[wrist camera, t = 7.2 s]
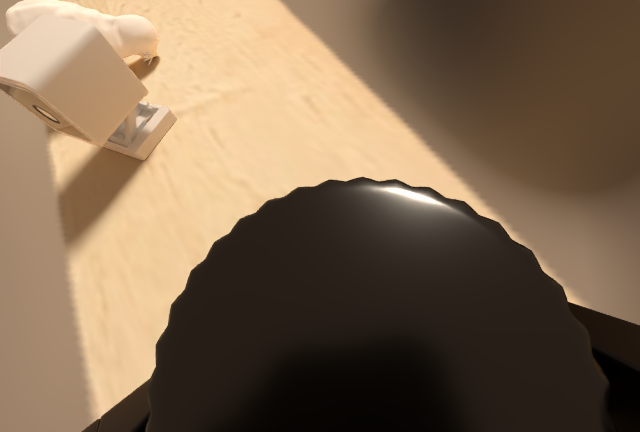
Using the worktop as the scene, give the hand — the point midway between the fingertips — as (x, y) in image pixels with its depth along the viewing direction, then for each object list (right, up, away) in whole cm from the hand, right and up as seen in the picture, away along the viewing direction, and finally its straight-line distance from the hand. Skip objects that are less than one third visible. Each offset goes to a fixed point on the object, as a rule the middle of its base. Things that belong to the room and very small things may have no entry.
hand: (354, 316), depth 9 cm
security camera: (-19, +10, +22) cm, 30 cm away
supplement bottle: (+1, -4, +5) cm, 7 cm away
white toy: (-24, +19, +27) cm, 41 cm away
